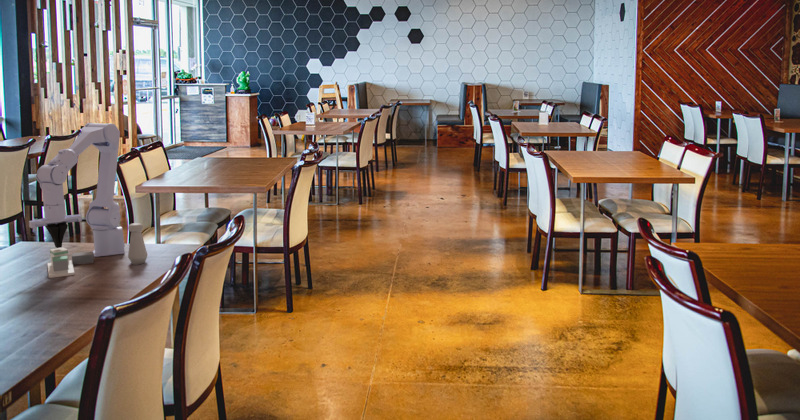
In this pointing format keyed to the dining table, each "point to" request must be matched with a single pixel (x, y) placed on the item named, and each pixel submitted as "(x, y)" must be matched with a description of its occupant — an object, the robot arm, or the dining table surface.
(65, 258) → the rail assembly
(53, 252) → the block
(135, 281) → the dining table surface
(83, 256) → the relay
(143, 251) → the salt shaker
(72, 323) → the dining table surface
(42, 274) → the dining table surface
